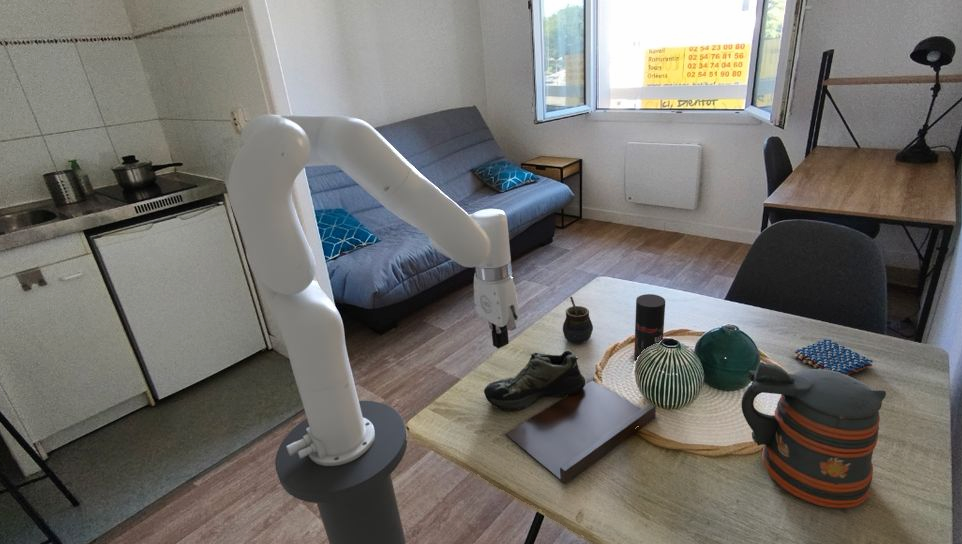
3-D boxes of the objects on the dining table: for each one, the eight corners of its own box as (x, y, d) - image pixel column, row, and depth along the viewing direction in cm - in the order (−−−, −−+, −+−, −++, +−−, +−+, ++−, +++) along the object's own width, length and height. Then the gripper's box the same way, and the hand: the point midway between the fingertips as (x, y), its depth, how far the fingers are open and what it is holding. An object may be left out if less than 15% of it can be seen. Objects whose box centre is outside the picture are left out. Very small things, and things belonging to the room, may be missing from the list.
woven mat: (825, 343, 113) (827, 336, 112) (873, 368, 104) (876, 359, 103) (790, 356, 110) (792, 348, 109) (837, 382, 101) (839, 374, 100)
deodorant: (652, 370, 110) (655, 309, 104) (628, 360, 114) (630, 301, 108) (666, 358, 113) (670, 299, 107) (643, 348, 117) (645, 291, 111)
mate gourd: (573, 350, 119) (572, 313, 115) (556, 336, 126) (555, 301, 122) (598, 342, 122) (598, 305, 118) (580, 328, 128) (580, 293, 124)
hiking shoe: (481, 393, 108) (475, 356, 104) (573, 370, 112) (572, 334, 108) (491, 418, 100) (485, 379, 96) (590, 392, 104) (588, 354, 100)
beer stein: (745, 501, 78) (762, 397, 69) (725, 434, 90) (738, 340, 82) (887, 516, 73) (923, 406, 65) (845, 444, 86) (871, 345, 78)
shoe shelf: (565, 484, 84) (565, 471, 82) (505, 434, 96) (504, 422, 94) (655, 418, 96) (656, 405, 95) (592, 381, 108) (592, 369, 107)
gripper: (458, 265, 107) (467, 338, 115) (501, 286, 96) (509, 366, 103) (486, 254, 111) (493, 326, 118) (531, 273, 100) (536, 351, 107)
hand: (501, 344), depth 111 cm, fingers closed
